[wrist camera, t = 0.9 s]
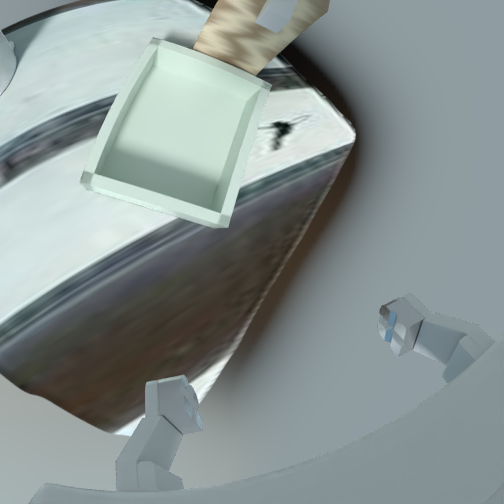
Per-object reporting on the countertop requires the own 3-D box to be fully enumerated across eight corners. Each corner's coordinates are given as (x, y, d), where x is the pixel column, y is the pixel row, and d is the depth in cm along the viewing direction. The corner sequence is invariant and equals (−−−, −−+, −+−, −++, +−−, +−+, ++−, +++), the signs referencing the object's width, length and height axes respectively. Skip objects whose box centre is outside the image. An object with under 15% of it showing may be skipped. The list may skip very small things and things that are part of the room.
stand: (184, 66, 40) (240, -35, 17) (203, 34, 41) (261, -56, 17) (241, 89, 46) (327, 11, 22) (255, 56, 46) (333, -17, 23)
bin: (87, 189, 36) (79, 181, 30) (148, 59, 37) (153, 37, 31) (213, 228, 45) (227, 227, 39) (254, 100, 47) (271, 84, 40)
